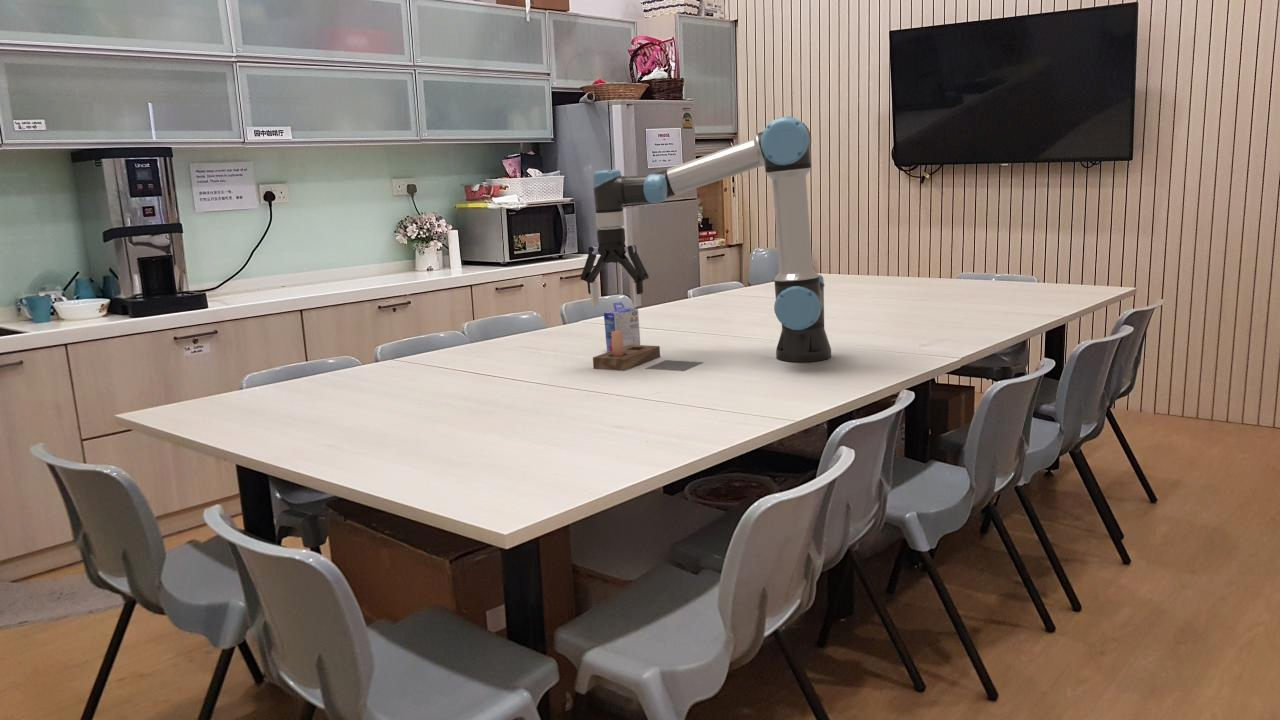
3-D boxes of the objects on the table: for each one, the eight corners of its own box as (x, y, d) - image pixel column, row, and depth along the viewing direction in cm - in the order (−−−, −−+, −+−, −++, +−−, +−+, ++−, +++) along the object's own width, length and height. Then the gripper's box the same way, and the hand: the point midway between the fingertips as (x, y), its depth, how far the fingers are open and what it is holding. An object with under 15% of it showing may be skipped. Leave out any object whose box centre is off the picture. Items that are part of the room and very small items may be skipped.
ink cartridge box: (629, 346, 306) (627, 300, 303) (641, 348, 302) (639, 301, 299) (605, 352, 300) (602, 304, 297) (617, 353, 296) (614, 305, 293)
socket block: (660, 358, 286) (659, 346, 285) (624, 372, 269) (624, 359, 268) (630, 356, 291) (629, 344, 290) (593, 369, 274) (592, 357, 273)
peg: (626, 366, 276) (624, 331, 274) (620, 368, 273) (618, 333, 272) (617, 366, 277) (615, 330, 276) (611, 368, 275) (609, 332, 273)
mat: (704, 363, 274) (703, 362, 274) (684, 372, 264) (684, 371, 264) (665, 361, 280) (665, 360, 280) (644, 369, 270) (644, 368, 270)
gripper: (657, 225, 265) (662, 304, 269) (579, 228, 278) (585, 303, 282) (643, 227, 259) (649, 308, 263) (564, 230, 271) (570, 307, 275)
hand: (616, 306), depth 272 cm, fingers open, 13 cm apart
